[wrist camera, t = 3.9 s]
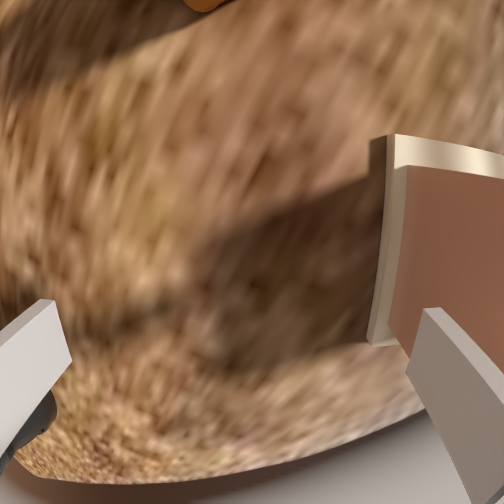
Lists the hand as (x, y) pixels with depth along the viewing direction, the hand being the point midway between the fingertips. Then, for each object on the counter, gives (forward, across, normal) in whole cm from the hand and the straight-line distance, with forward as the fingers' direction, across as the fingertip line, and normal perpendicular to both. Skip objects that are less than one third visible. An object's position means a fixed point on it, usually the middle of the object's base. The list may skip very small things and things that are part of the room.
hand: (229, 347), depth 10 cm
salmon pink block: (+12, +13, 0) cm, 17 cm away
